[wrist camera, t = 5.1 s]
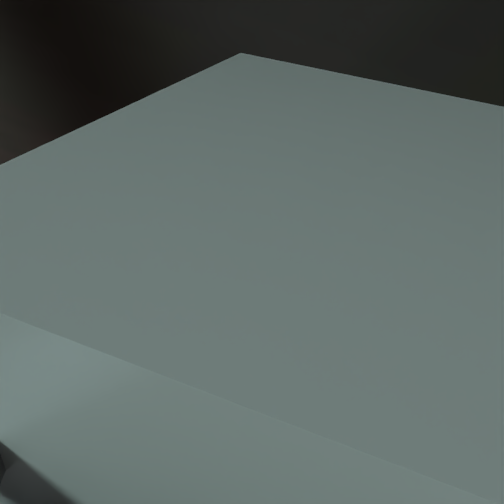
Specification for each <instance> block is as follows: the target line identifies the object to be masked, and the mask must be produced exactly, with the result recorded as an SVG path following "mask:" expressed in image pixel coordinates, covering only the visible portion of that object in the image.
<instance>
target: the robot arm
mask: <svg viewBox="0 0 504 504" xmlns="http://www.w3.org/2000/svg"><path fill="white" fill-rule="evenodd" d="M5 471H6V469H5V466H4V463H3V460H2V457H1V454H0V484H1V481H2V478H3V476H4V474H5Z"/></svg>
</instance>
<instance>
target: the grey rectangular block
mask: <svg viewBox="0 0 504 504" xmlns="http://www.w3.org/2000/svg"><path fill="white" fill-rule="evenodd" d="M0 454H1V457H2V460H3V463H4V466H5V469H6V471H5V474H4V476H3V478H2V481H1V484H0V504H504V107H501V106H496V105H492V104H487V103H482V102H477V101H472V100H467V99H462V98H458V97H453V96H448V95H443V94H438V93H433V92H428V91H424V90H419V89H414V88H409V87H404V86H399V85H394V84H389V83H385V82H380V81H375V80H370V79H365V78H360V77H355V76H351V75H346V74H341V73H336V72H331V71H326V70H321V69H317V68H312V67H307V66H302V65H297V64H292V63H287V62H283V61H278V60H273V59H268V58H263V57H258V56H253V55H248V54H244V53H240V54H237V55H235V56H233V57H231V58H229V59H227V60H225V61H222V62H220V63H218V64H216V65H214V66H212V67H210V68H207V69H205V70H203V71H201V72H199V73H197V74H195V75H192V76H190V77H188V78H186V79H184V80H182V81H180V82H177V83H175V84H173V85H171V86H169V87H167V88H165V89H162V90H160V91H158V92H156V93H154V94H152V95H149V96H147V97H145V98H143V99H141V100H139V101H137V102H134V103H132V104H130V105H128V106H126V107H124V108H122V109H119V110H117V111H115V112H113V113H111V114H109V115H107V116H104V117H102V118H100V119H98V120H96V121H94V122H92V123H89V124H87V125H85V126H83V127H81V128H79V129H76V130H74V131H72V132H70V133H68V134H66V135H64V136H61V137H59V138H57V139H55V140H53V141H51V142H49V143H46V144H44V145H42V146H40V147H38V148H36V149H34V150H31V151H29V152H27V153H25V154H23V155H21V156H19V157H16V158H14V159H12V160H10V161H8V162H6V163H4V164H1V165H0Z"/></svg>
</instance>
